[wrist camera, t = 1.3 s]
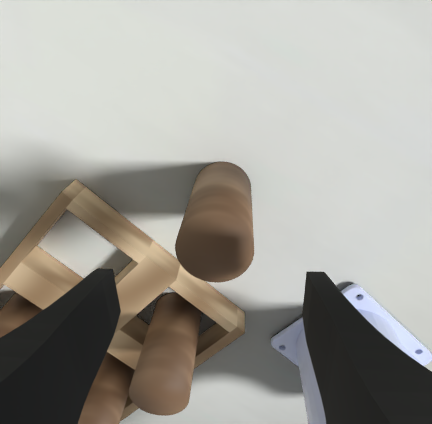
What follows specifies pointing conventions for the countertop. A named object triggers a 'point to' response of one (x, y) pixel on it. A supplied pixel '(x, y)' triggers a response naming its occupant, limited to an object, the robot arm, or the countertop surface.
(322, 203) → the countertop surface
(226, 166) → the loose leg
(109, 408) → the stool seat
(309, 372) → the robot arm
